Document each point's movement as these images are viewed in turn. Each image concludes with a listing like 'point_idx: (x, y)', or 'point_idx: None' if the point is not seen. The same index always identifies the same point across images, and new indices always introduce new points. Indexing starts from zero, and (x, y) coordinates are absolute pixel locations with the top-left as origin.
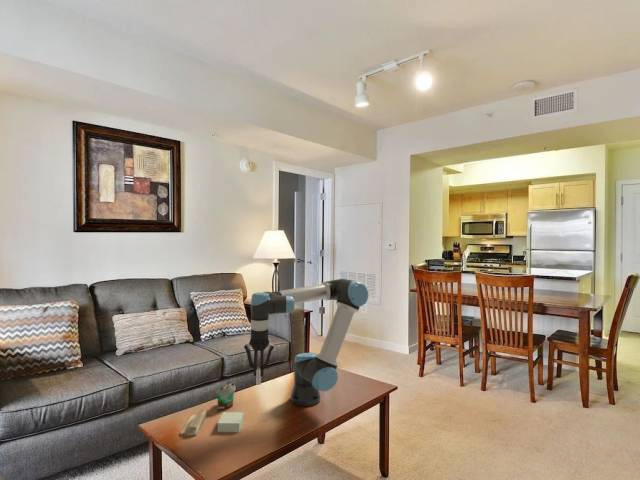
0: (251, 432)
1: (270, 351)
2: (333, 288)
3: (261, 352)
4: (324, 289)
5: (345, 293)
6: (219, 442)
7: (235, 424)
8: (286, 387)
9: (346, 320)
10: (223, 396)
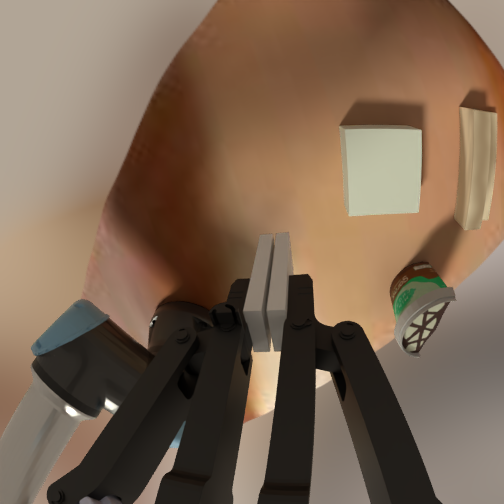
0: (295, 126)
1: (87, 466)
2: None
3: (185, 490)
4: None
5: None
6: (382, 59)
7: (358, 128)
8: (258, 378)
9: None
10: (429, 288)
